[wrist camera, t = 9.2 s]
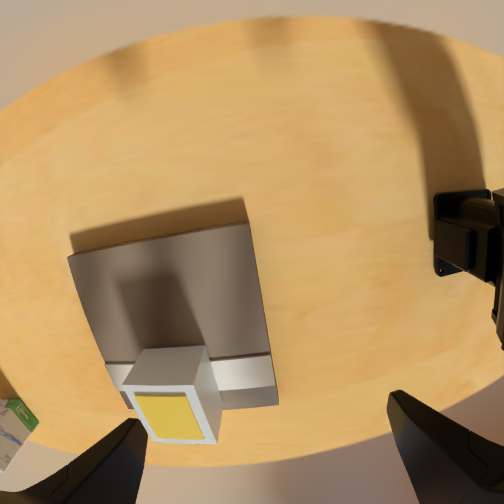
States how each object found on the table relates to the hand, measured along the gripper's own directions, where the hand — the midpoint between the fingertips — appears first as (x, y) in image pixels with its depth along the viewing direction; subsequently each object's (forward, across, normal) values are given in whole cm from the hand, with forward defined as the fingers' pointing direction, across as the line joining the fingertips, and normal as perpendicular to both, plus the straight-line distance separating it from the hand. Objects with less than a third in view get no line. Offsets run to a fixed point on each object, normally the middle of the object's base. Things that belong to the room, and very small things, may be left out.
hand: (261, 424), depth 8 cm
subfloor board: (+12, +7, +2) cm, 14 cm away
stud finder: (+11, +7, +6) cm, 14 cm away
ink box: (+12, +39, +16) cm, 44 cm away
